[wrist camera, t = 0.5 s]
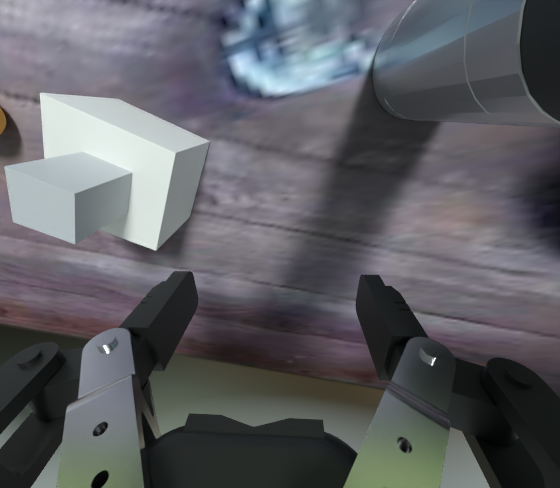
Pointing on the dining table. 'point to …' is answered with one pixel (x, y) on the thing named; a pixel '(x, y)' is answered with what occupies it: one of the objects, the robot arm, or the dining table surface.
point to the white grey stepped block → (107, 173)
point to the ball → (2, 121)
